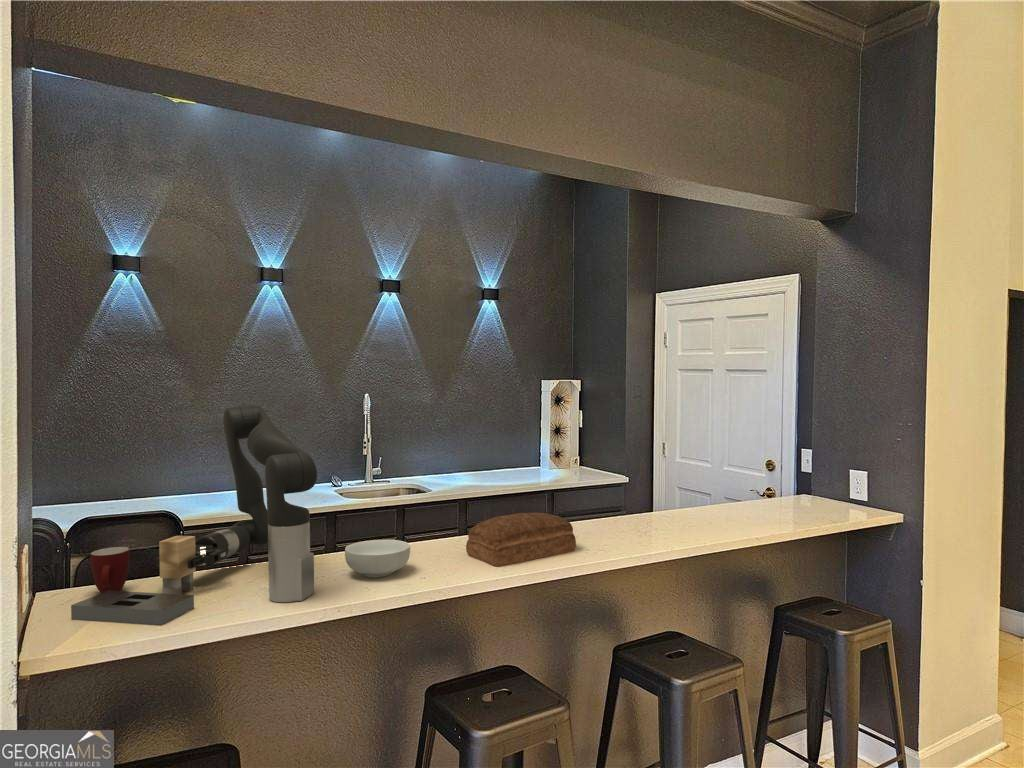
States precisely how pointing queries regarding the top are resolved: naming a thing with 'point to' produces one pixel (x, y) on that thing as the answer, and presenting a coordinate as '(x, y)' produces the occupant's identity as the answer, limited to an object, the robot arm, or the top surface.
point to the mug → (110, 568)
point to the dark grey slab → (132, 607)
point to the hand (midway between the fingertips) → (173, 563)
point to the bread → (520, 538)
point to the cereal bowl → (377, 557)
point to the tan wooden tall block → (176, 564)
